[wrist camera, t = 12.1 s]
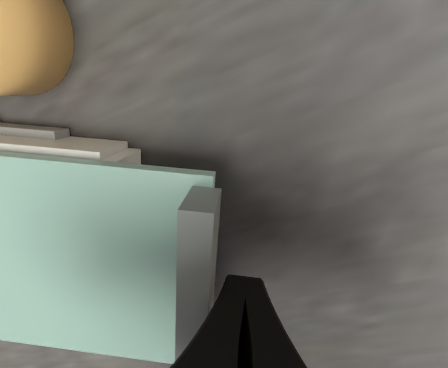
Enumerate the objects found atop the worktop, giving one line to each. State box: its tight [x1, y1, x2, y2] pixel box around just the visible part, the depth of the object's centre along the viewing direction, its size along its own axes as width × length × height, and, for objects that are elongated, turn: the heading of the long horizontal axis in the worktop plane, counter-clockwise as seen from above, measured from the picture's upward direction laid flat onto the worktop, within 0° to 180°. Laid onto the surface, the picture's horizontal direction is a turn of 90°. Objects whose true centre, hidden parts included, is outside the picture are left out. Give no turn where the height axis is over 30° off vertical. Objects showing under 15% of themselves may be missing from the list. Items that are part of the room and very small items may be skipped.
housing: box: [0, 121, 141, 164], centre depth 11 cm, size 18×10×2 cm, turn 176°
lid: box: [0, 151, 222, 364], centre depth 10 cm, size 9×10×3 cm
